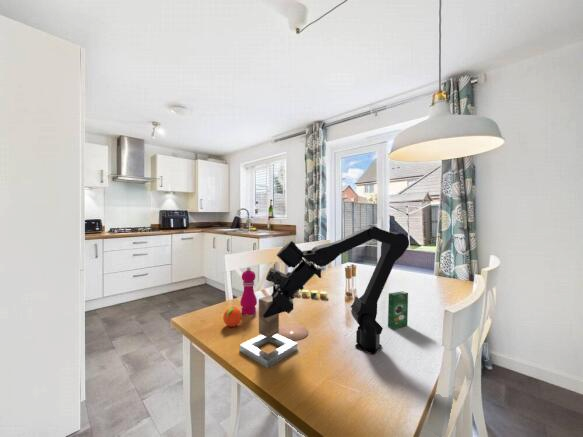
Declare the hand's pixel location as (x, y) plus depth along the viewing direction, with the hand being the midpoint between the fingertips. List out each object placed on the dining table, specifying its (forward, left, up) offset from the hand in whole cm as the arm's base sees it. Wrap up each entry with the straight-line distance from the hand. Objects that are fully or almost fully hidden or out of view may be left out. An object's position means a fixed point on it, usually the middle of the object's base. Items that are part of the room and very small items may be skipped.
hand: (264, 312), depth 79 cm
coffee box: (-26, -46, -12) cm, 54 cm away
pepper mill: (+28, -16, -12) cm, 35 cm away
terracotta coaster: (+1, -15, -12) cm, 19 cm away
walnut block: (-1, -1, -7) cm, 7 cm away
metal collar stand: (-1, -1, -12) cm, 12 cm away
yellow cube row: (+21, -48, -13) cm, 54 cm away
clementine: (+22, -3, -12) cm, 25 cm away
